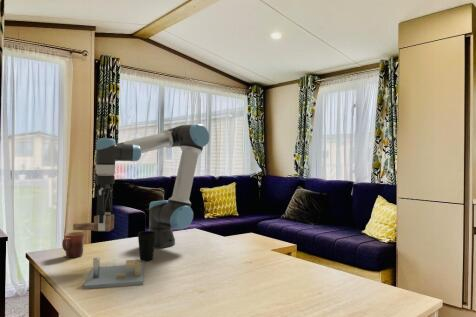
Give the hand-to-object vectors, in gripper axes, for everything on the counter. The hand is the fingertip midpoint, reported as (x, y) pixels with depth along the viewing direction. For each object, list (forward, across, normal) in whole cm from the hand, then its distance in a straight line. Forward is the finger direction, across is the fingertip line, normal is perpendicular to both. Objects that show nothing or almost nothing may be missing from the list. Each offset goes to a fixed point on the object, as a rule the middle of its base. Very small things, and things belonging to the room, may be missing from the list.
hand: (104, 228), depth 152 cm
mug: (+16, -12, -18) cm, 27 cm away
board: (+15, +16, +10) cm, 24 cm away
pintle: (+14, +19, +3) cm, 24 cm away
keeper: (+14, +17, +15) cm, 26 cm away
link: (0, 0, -5) cm, 5 cm away
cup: (+15, -8, +16) cm, 24 cm away
